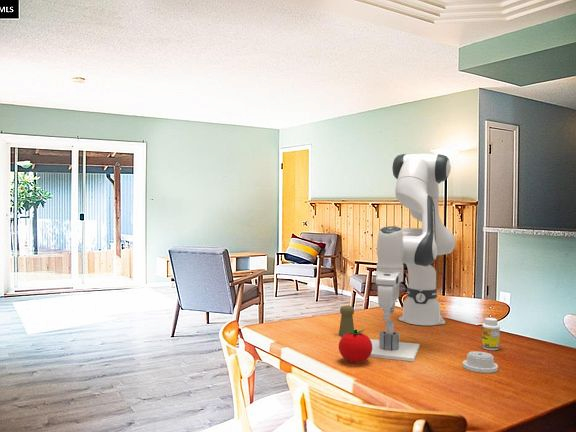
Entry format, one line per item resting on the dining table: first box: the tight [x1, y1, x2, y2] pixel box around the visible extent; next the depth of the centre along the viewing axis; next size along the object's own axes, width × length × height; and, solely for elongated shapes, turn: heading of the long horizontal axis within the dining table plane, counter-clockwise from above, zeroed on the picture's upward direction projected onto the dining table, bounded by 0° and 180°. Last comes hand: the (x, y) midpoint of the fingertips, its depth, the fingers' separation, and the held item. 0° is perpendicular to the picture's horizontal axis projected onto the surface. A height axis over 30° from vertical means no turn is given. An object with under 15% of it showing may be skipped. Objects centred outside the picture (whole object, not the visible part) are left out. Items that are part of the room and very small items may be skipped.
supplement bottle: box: [481, 317, 501, 351], centre depth 180 cm, size 6×6×10 cm
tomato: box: [338, 329, 372, 364], centre depth 164 cm, size 10×10×10 cm
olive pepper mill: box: [338, 305, 355, 338], centre depth 196 cm, size 6×6×11 cm
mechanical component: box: [462, 351, 499, 374], centre depth 159 cm, size 10×4×10 cm
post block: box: [369, 319, 420, 362], centre depth 176 cm, size 18×18×10 cm
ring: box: [379, 330, 400, 351], centre depth 176 cm, size 6×6×5 cm
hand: (389, 316), depth 177 cm, fingers open, 8 cm apart
